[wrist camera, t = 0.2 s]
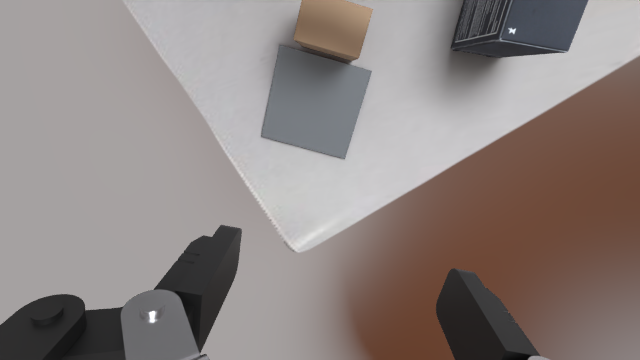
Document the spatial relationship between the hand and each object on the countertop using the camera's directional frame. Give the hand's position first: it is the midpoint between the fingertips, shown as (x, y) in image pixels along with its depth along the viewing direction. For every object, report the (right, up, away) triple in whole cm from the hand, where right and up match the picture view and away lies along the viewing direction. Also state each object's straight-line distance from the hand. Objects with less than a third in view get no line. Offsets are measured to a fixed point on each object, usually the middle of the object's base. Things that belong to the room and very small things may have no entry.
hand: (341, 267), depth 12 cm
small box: (+18, +23, +22) cm, 36 cm away
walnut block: (+1, +20, +23) cm, 31 cm away
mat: (-1, +13, +26) cm, 29 cm away
